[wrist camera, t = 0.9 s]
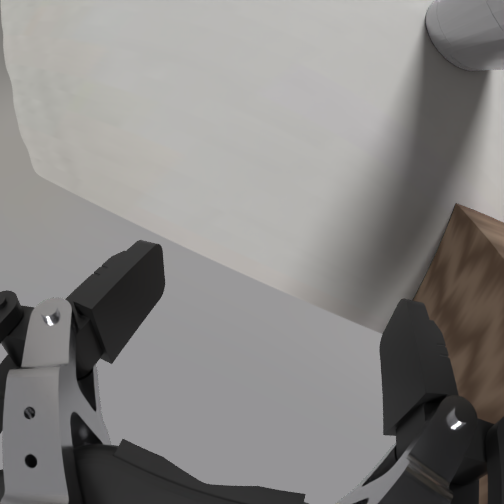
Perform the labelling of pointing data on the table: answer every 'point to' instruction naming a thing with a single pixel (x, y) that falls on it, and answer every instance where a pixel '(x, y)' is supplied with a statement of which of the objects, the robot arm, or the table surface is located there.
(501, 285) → the stand
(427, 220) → the table surface
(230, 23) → the table surface
